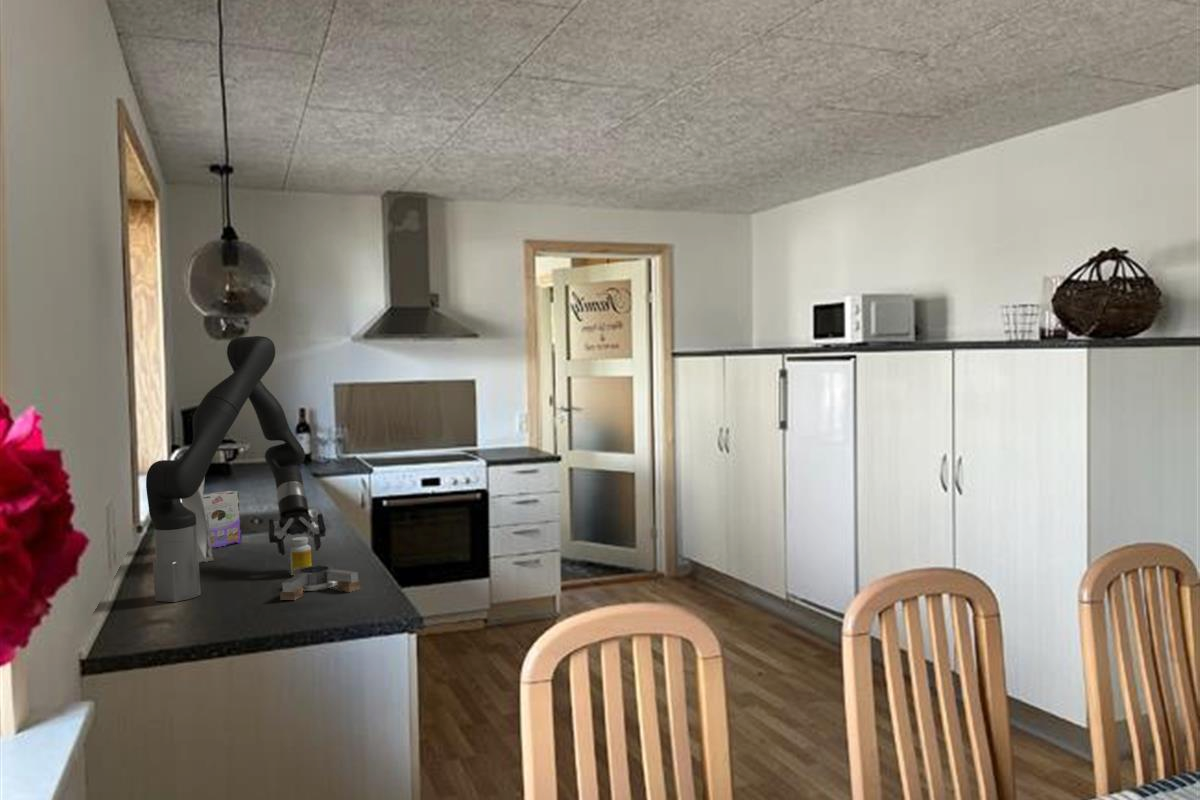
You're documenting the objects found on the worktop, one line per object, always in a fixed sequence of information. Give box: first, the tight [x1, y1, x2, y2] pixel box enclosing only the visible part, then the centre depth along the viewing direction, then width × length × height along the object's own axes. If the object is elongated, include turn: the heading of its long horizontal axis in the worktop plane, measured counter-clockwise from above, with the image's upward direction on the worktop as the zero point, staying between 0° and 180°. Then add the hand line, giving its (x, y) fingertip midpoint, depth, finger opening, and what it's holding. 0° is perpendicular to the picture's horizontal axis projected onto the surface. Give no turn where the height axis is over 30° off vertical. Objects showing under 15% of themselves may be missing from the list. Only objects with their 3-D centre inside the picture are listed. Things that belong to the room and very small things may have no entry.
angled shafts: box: [281, 568, 359, 592], centre depth 210 cm, size 14×14×2 cm
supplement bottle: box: [289, 536, 313, 577], centre depth 231 cm, size 5×5×10 cm
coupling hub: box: [295, 564, 338, 593], centre depth 219 cm, size 12×12×4 cm
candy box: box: [203, 490, 243, 549], centre depth 271 cm, size 14×6×16 cm, turn 141°
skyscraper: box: [180, 476, 214, 564], centre depth 250 cm, size 8×8×28 cm
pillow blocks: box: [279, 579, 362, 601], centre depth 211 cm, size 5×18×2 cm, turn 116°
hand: (300, 551), depth 231 cm, fingers open, 8 cm apart
